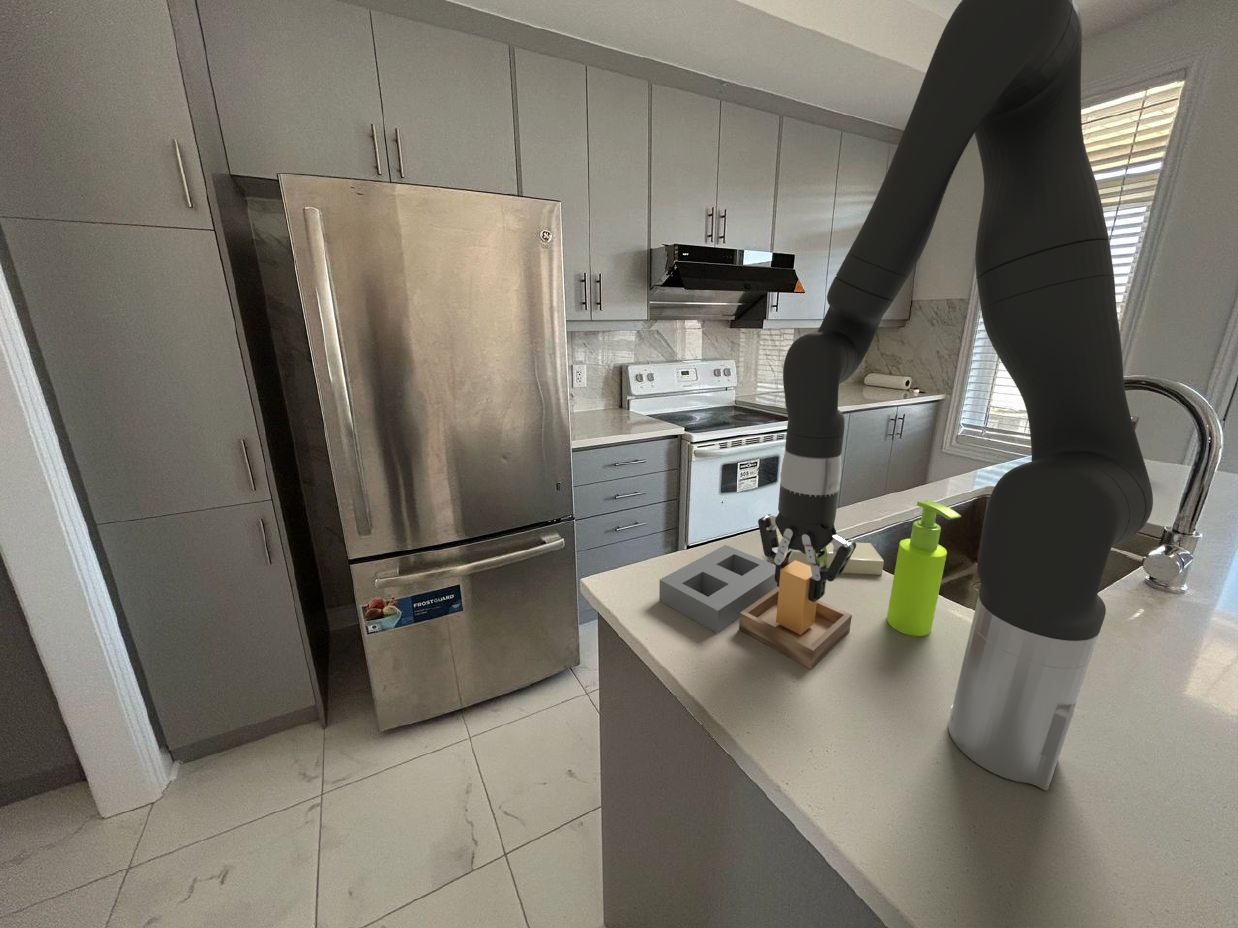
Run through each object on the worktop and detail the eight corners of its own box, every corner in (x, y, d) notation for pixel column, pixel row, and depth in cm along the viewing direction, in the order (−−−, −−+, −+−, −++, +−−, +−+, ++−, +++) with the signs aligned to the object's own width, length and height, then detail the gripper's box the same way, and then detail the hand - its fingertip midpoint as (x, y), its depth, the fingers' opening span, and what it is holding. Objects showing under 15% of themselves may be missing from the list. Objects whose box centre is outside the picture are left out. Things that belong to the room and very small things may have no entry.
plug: (814, 623, 72) (820, 570, 69) (800, 634, 69) (806, 580, 67) (790, 611, 75) (795, 560, 72) (775, 622, 72) (780, 569, 69)
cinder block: (780, 588, 83) (782, 568, 82) (716, 633, 72) (717, 610, 71) (724, 563, 92) (725, 544, 91) (659, 600, 81) (659, 579, 80)
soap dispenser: (914, 643, 69) (939, 516, 63) (877, 616, 75) (897, 498, 69) (946, 636, 70) (974, 511, 64) (908, 609, 77) (929, 493, 71)
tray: (849, 631, 72) (851, 614, 71) (811, 669, 65) (813, 650, 64) (779, 599, 80) (781, 584, 79) (738, 629, 73) (739, 612, 72)
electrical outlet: (884, 556, 86) (780, 550, 89) (881, 576, 87) (779, 570, 90) (871, 538, 93) (774, 534, 95) (868, 557, 94) (773, 552, 97)
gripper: (875, 489, 62) (858, 602, 68) (777, 465, 73) (768, 565, 78) (850, 504, 58) (833, 625, 63) (748, 477, 68) (741, 582, 73)
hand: (797, 591), depth 70 cm, fingers open, 4 cm apart
